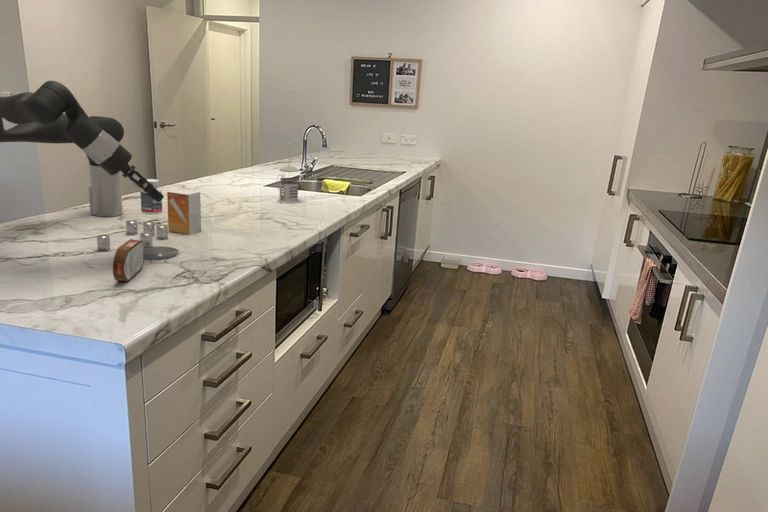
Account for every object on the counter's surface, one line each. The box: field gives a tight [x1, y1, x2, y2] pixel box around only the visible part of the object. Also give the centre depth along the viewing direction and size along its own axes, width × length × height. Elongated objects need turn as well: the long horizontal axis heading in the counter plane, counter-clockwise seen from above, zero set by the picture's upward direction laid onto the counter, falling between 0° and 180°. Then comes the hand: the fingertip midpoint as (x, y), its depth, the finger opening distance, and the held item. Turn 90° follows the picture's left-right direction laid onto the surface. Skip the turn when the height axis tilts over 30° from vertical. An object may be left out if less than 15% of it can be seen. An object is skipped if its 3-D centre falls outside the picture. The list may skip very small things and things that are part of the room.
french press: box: [276, 142, 301, 205], centre depth 233 cm, size 10×12×25 cm
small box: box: [166, 188, 202, 235], centre depth 178 cm, size 8×6×13 cm
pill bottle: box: [140, 178, 163, 215], centre depth 149 cm, size 5×5×9 cm
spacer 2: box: [139, 232, 154, 248], centre depth 159 cm, size 3×3×4 cm
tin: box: [112, 238, 145, 282], centre depth 135 cm, size 15×3×8 cm, turn 5°
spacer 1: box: [125, 219, 139, 236], centre depth 172 cm, size 3×3×4 cm
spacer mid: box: [142, 221, 156, 237], centre depth 171 cm, size 3×3×4 cm
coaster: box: [144, 245, 179, 260], centre depth 154 cm, size 11×11×1 cm
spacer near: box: [96, 234, 111, 252], centre depth 154 cm, size 3×3×4 cm
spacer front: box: [155, 224, 169, 241], centre depth 169 cm, size 3×3×4 cm
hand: (158, 197), depth 150 cm, fingers closed on pill bottle, 5 cm apart
